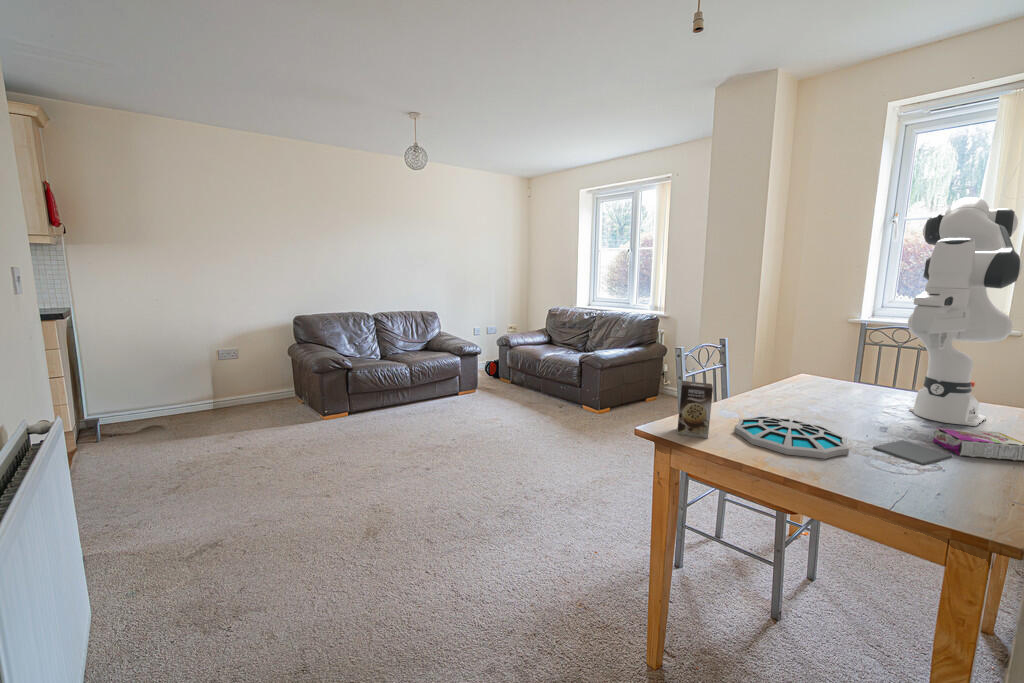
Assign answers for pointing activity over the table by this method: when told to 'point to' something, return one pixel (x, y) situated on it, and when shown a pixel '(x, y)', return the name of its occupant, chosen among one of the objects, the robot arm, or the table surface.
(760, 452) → the table surface
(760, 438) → the decorative platform
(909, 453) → the mat
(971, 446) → the candy bar box
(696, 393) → the brown food box
